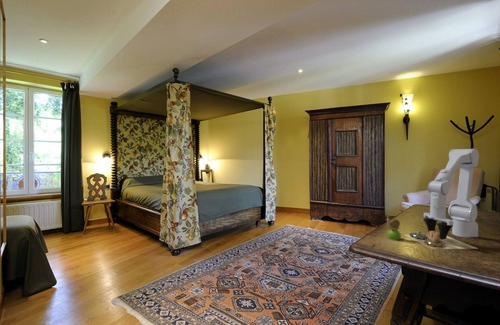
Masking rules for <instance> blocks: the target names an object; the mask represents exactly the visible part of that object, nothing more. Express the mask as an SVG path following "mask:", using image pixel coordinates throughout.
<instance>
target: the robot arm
mask: <svg viewBox="0 0 500 325" xmlns="http://www.w3.org/2000/svg"><path fill="white" fill-rule="evenodd" d="M448 159H449V160H448V161H447V164H446V167H445V168H443V169H441V170H440V171H439V172H438V174H437V175H436V177H435V179H434V180H431V181H429V183H428V184H427V191H428V196H429V197H430V199H429V202H430V203H429V204H430V205H429V212H423V217H424V218H423V221H424V223H425V225H426V227H427V230H428V233H429V231H436V226H437V227H438V231H439V234H440V239H446V237H447V236H448V234H449V231H450V230H452V231H451V234H452V235H453V236H456V237H462V238H478V237H479V224H478V222H476V219H477V217H478V207H477V205H476V204H475V203H474V202H472V201H471V194H472V185H473V179H474V178H473V177H474V169H475V168H476V167H477V166H478V164H479V159H480V154H479V151H478V150H477V149H476V148H462V149H461V148H460V149H458V148H456V149H455V148H452V149H450V151H449V153H448ZM458 168H459V178H458V183H457V184H458V185H457V193H456V199H454V200H452V201H450V204H449V206H448V209H447V195H448V194H449V192H450V189H451V185H452V184H451V183H452V182H453V179H455V177H456V174H455V172H456V170H458ZM446 213H448V215H449V216H450V218H451V219H449V218H448V217H446V215H447V214H446Z"/></svg>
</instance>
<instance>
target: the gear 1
mask: <svg viewBox="0 0 500 325" xmlns="http://www.w3.org/2000/svg"><path fill="white" fill-rule="evenodd" d="M409 235H410V236H411V237H412V238H415V239H420V240H426V239H428V236H426V235H427V234H423V233H421V232H420V235H417V232H410V233H409ZM412 238H411V239H412Z"/></svg>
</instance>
